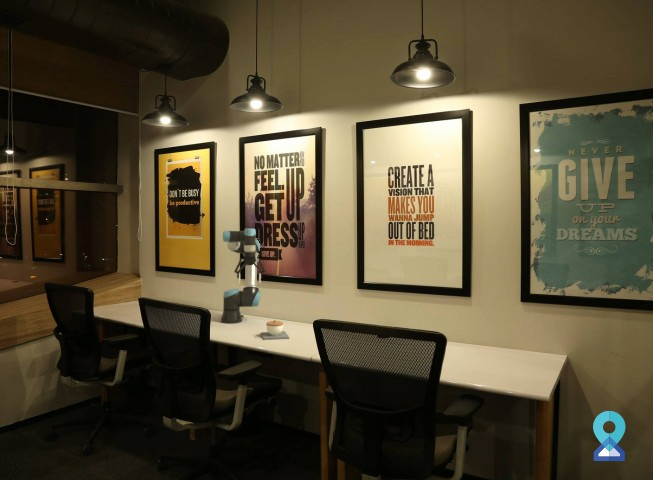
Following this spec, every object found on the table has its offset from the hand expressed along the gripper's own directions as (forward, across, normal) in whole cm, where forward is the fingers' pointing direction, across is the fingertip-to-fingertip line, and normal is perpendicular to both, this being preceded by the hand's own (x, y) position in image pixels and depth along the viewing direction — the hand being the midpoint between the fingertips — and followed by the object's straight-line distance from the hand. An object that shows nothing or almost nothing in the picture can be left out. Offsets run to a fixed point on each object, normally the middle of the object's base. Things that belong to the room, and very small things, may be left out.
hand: (249, 283), depth 320 cm
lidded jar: (+31, +14, -21) cm, 40 cm away
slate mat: (+32, +14, -21) cm, 41 cm away
